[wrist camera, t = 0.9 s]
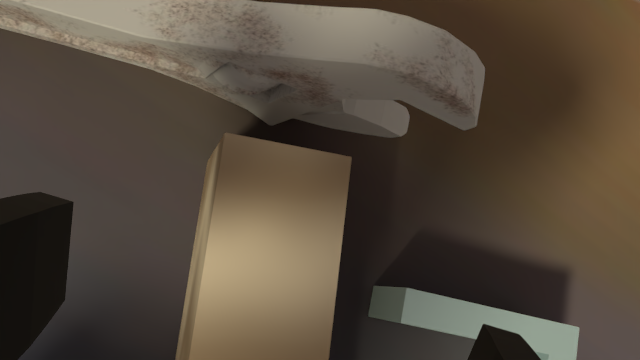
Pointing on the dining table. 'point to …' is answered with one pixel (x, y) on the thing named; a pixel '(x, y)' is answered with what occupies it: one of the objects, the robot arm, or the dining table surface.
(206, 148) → the dining table surface
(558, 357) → the bracket
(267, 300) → the tan rectangular block
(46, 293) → the robot arm
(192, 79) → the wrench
